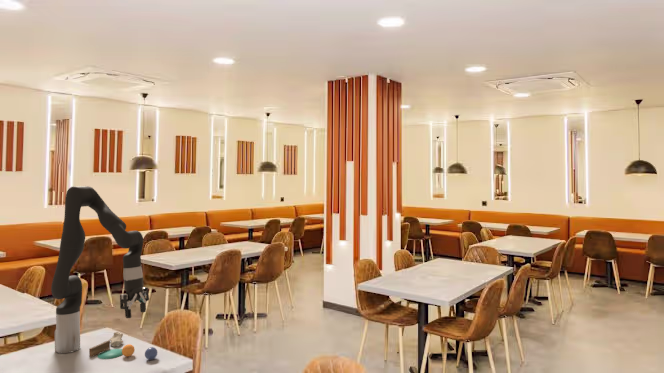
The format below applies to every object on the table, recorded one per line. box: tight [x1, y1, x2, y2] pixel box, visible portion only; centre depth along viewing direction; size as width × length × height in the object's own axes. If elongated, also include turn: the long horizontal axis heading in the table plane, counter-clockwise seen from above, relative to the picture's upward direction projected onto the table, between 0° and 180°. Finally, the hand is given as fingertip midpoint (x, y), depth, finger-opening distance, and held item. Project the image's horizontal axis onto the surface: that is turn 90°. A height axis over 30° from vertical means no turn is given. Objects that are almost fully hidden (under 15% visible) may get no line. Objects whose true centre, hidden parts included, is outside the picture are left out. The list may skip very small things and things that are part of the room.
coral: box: [107, 331, 124, 348], centre depth 202 cm, size 6×10×4 cm, turn 41°
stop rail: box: [88, 340, 111, 358], centre depth 191 cm, size 1×10×4 cm, turn 163°
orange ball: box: [121, 343, 136, 358], centre depth 186 cm, size 5×5×5 cm
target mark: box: [97, 348, 124, 360], centre depth 189 cm, size 11×11×1 cm
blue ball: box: [144, 346, 158, 361], centre depth 183 cm, size 5×5×5 cm
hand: (136, 315), depth 184 cm, fingers open, 8 cm apart
